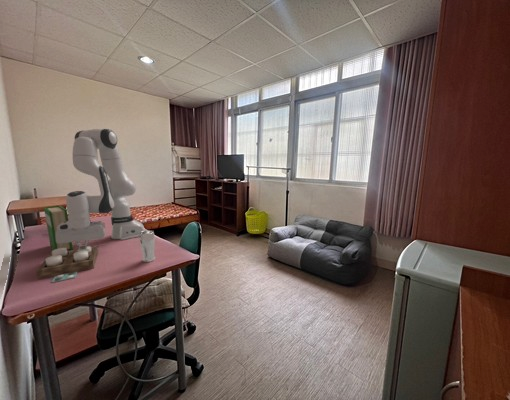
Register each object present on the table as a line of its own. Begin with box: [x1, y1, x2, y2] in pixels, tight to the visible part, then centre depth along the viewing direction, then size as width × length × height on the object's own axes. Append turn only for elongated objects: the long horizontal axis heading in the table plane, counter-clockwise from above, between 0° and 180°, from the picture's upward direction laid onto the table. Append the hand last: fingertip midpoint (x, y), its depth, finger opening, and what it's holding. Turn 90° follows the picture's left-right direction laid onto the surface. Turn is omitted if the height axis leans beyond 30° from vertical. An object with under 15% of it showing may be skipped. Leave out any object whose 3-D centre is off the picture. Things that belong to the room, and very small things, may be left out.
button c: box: [73, 251, 89, 262], centre depth 107 cm, size 6×6×3 cm
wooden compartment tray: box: [36, 246, 99, 280], centre depth 110 cm, size 20×20×4 cm
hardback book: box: [43, 205, 73, 251], centre depth 129 cm, size 18×7×24 cm, turn 50°
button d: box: [44, 255, 63, 267], centre depth 102 cm, size 6×6×3 cm
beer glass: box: [139, 229, 156, 263], centre depth 114 cm, size 7×7×15 cm
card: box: [51, 271, 79, 284], centre depth 98 cm, size 8×6×1 cm
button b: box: [51, 248, 68, 257], centre depth 111 cm, size 6×6×3 cm
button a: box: [77, 245, 92, 253], centre depth 116 cm, size 6×6×3 cm
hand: (83, 248), depth 115 cm, fingers closed
